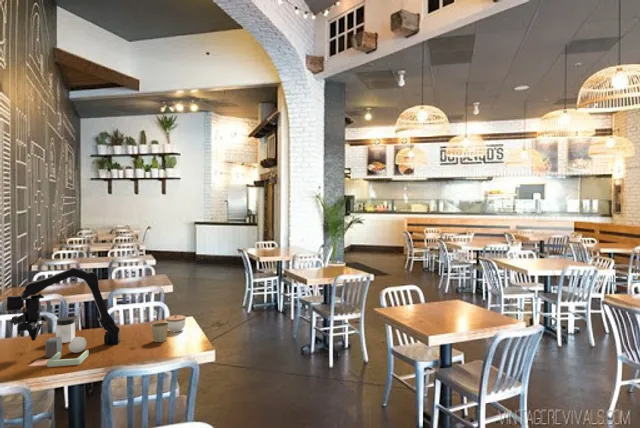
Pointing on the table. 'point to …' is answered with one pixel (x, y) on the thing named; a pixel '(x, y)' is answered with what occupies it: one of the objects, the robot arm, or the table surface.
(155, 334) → the flower pot
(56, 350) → the grey block
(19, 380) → the table surface
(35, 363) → the terracotta mat
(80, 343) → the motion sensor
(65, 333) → the jar
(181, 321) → the lidded jar
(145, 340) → the table surface
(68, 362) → the frame
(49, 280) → the robot arm
